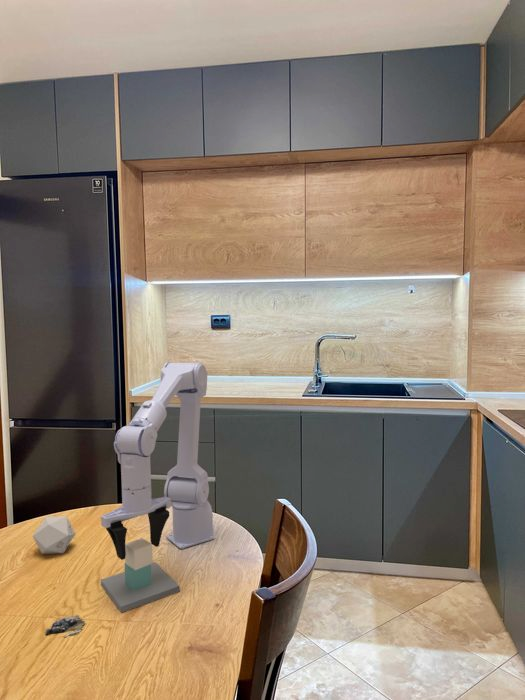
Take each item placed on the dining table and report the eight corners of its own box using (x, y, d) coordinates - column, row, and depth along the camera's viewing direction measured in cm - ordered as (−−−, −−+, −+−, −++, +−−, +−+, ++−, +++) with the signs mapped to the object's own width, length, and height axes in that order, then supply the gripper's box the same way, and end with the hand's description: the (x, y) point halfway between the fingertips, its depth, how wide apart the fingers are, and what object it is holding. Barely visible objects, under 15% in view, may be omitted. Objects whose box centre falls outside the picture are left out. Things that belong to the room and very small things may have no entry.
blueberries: (90, 631, 88) (90, 621, 87) (43, 652, 82) (42, 641, 82) (76, 614, 93) (75, 604, 92) (30, 633, 87) (30, 622, 87)
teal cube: (143, 575, 103) (143, 557, 103) (151, 584, 100) (150, 564, 99) (125, 581, 101) (124, 563, 100) (132, 590, 97) (131, 571, 97)
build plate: (155, 567, 109) (155, 562, 109) (179, 591, 99) (179, 585, 99) (101, 585, 102) (100, 579, 102) (121, 612, 92) (120, 606, 92)
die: (49, 566, 111) (75, 527, 114) (19, 545, 113) (45, 507, 115) (63, 561, 119) (87, 525, 122) (34, 542, 120) (59, 506, 123)
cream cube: (142, 556, 103) (142, 537, 103) (152, 563, 100) (152, 544, 100) (125, 563, 100) (124, 544, 100) (134, 570, 97) (134, 550, 97)
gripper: (157, 472, 107) (159, 533, 108) (93, 489, 97) (95, 556, 98) (175, 480, 102) (177, 544, 103) (109, 498, 92) (112, 569, 93)
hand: (138, 551), depth 100 cm, fingers open, 7 cm apart
